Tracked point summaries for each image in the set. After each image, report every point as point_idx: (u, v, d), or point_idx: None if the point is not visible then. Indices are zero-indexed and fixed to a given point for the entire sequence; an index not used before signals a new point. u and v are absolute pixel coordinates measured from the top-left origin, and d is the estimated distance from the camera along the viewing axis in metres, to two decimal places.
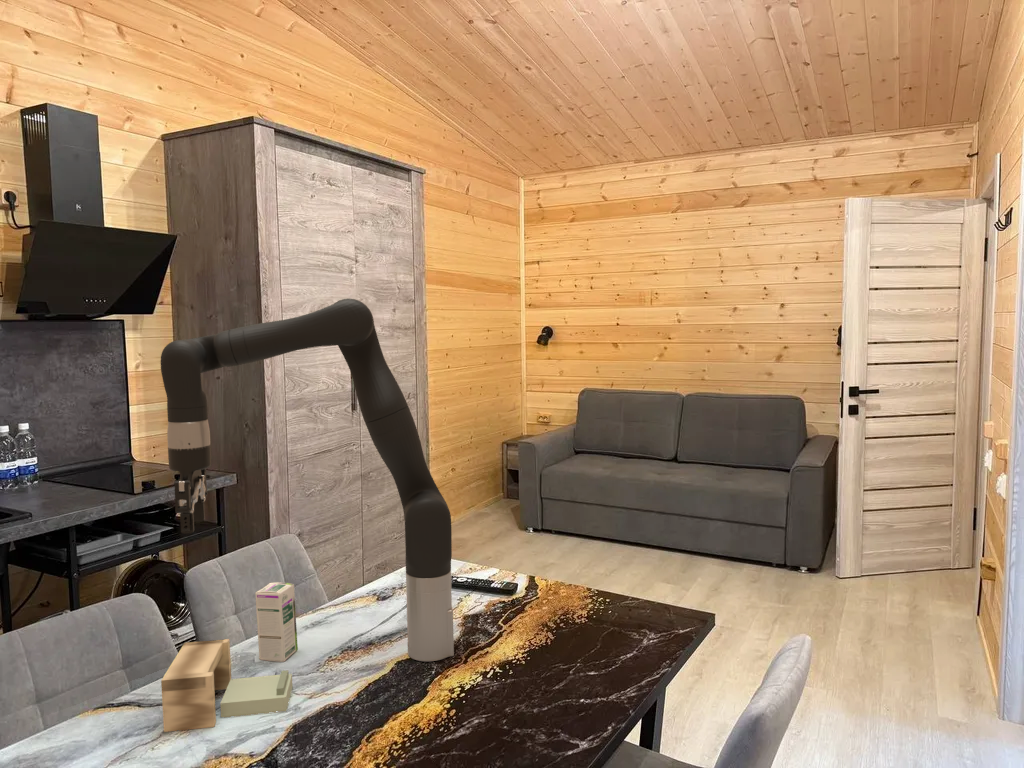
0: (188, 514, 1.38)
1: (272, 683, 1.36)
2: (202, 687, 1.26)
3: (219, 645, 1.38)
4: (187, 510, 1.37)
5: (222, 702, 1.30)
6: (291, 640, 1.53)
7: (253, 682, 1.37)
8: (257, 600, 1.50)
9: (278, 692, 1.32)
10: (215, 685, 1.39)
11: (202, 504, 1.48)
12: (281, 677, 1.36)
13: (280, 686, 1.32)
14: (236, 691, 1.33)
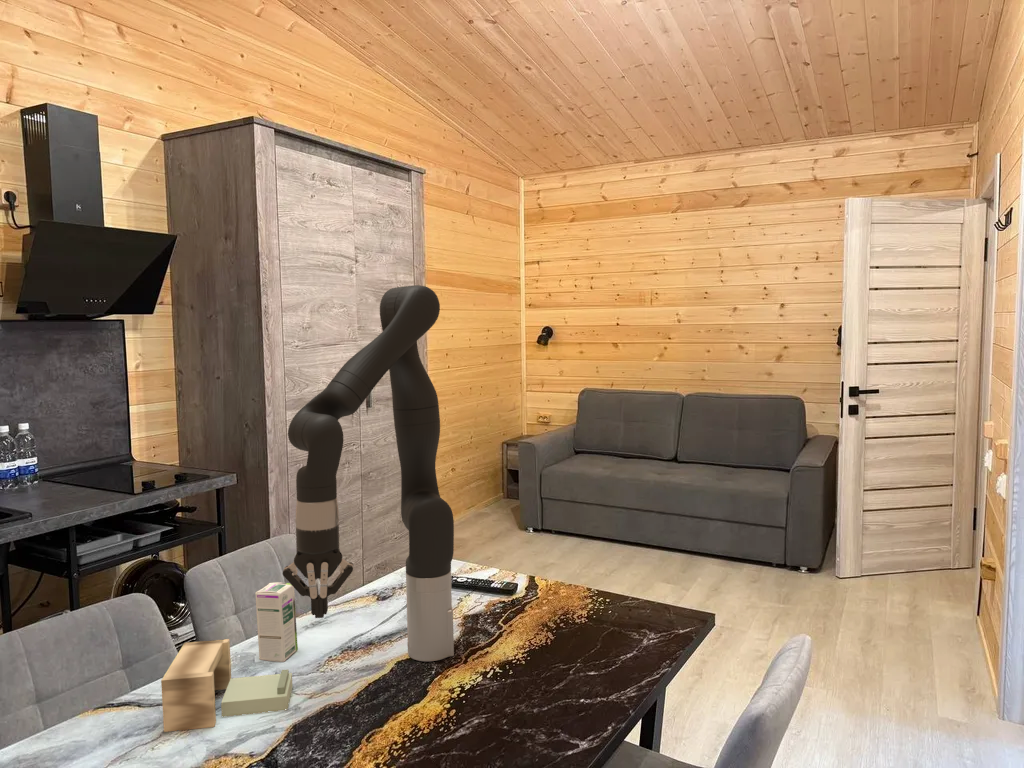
0: None
1: (272, 682, 1.37)
2: (202, 687, 1.26)
3: (219, 645, 1.38)
4: None
5: (223, 701, 1.30)
6: (291, 640, 1.53)
7: (253, 681, 1.37)
8: (257, 600, 1.50)
9: (279, 691, 1.32)
10: (215, 685, 1.39)
11: (319, 596, 1.36)
12: (281, 676, 1.36)
13: (280, 685, 1.33)
14: (236, 690, 1.34)
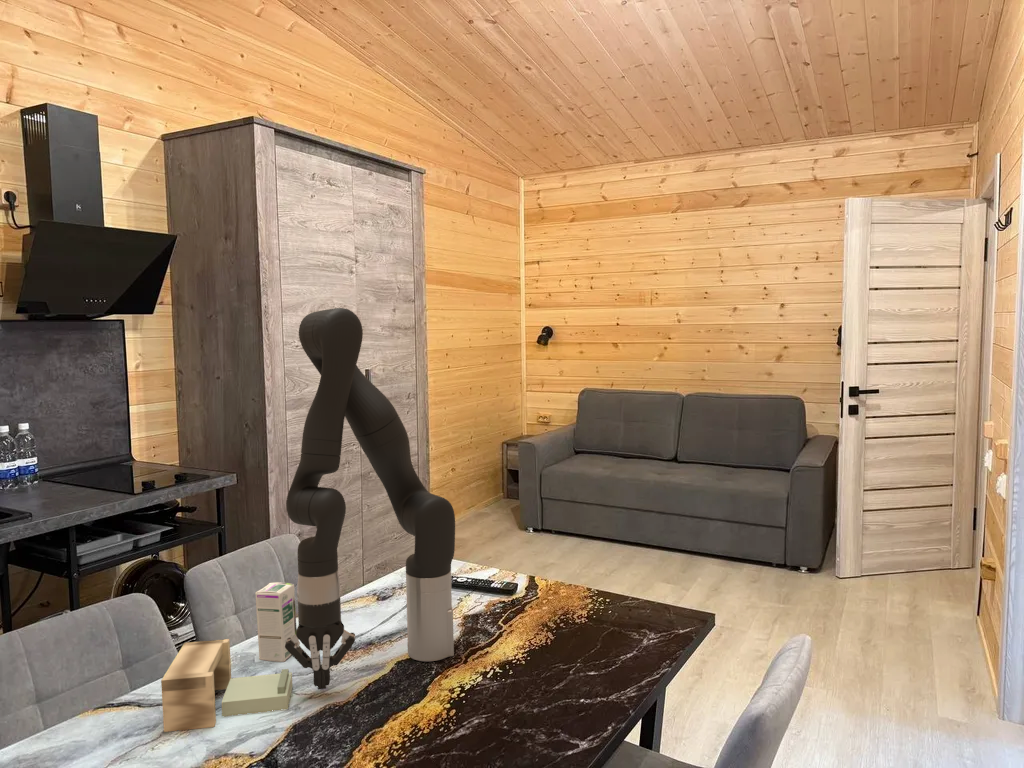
0: None
1: (272, 682, 1.37)
2: (202, 687, 1.26)
3: (219, 645, 1.38)
4: None
5: (223, 701, 1.30)
6: None
7: (253, 681, 1.37)
8: (257, 600, 1.50)
9: (279, 691, 1.32)
10: (215, 685, 1.39)
11: (321, 666, 1.37)
12: (281, 676, 1.36)
13: (281, 685, 1.33)
14: (236, 690, 1.34)
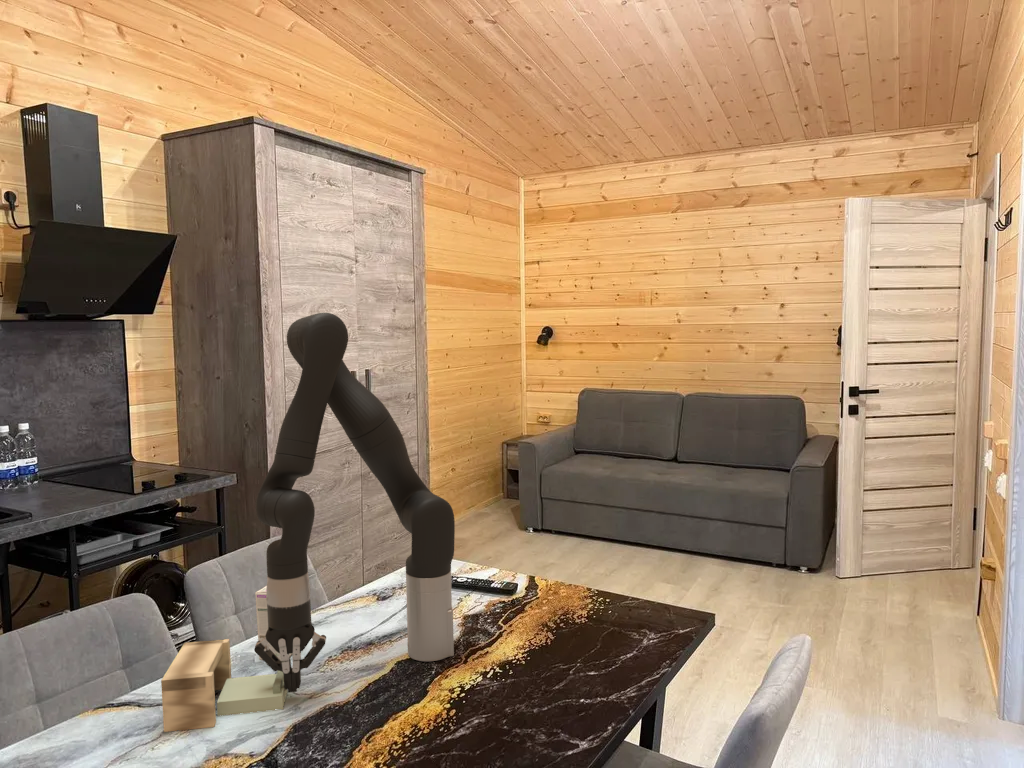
0: None
1: (268, 682, 1.37)
2: (202, 687, 1.26)
3: (219, 645, 1.38)
4: None
5: (219, 701, 1.30)
6: None
7: (249, 681, 1.37)
8: (257, 600, 1.50)
9: (274, 691, 1.32)
10: (215, 685, 1.39)
11: (292, 669, 1.36)
12: (277, 676, 1.37)
13: (276, 685, 1.33)
14: (232, 690, 1.34)
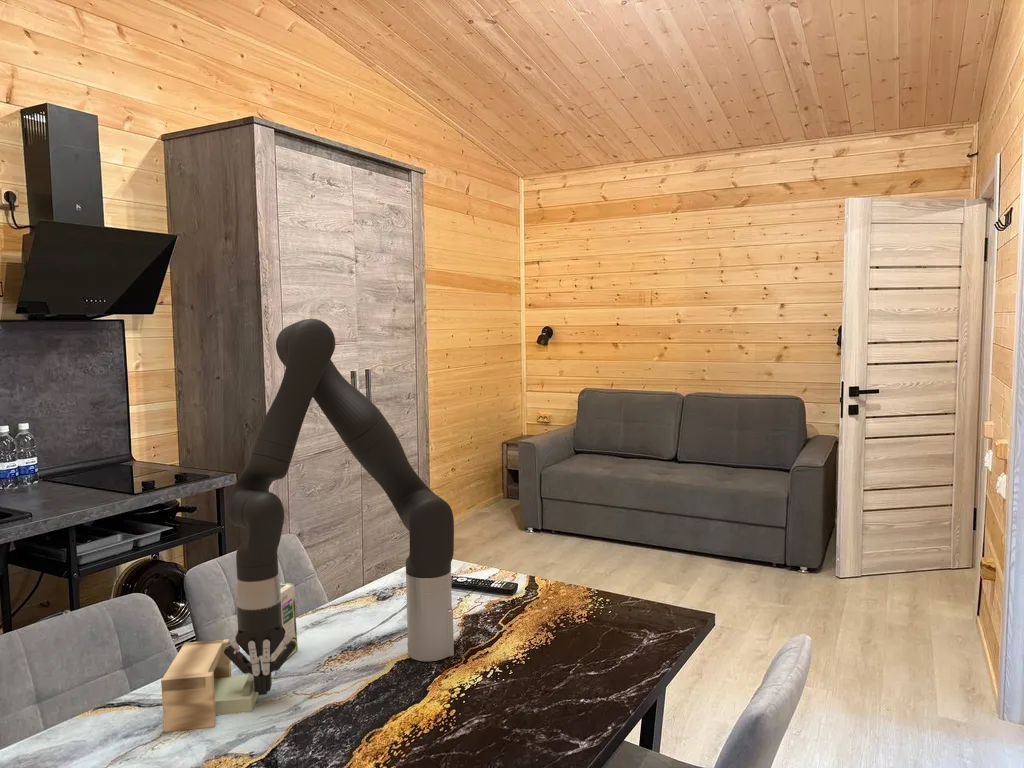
0: None
1: (240, 684, 1.36)
2: (202, 687, 1.26)
3: (219, 645, 1.38)
4: None
5: None
6: None
7: (221, 683, 1.37)
8: None
9: (244, 693, 1.32)
10: None
11: (262, 672, 1.35)
12: (249, 678, 1.36)
13: (246, 687, 1.32)
14: None
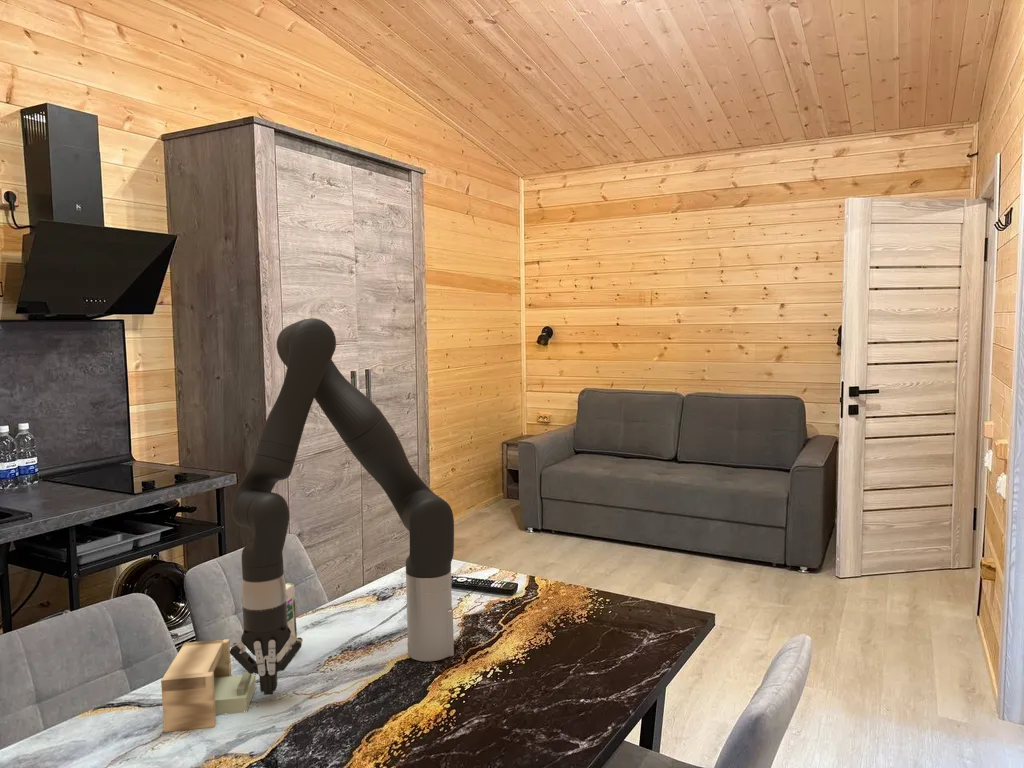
0: None
1: (234, 683, 1.36)
2: (202, 687, 1.26)
3: (219, 645, 1.38)
4: None
5: None
6: None
7: (215, 682, 1.37)
8: None
9: (238, 692, 1.32)
10: None
11: None
12: (243, 677, 1.36)
13: (240, 687, 1.32)
14: None
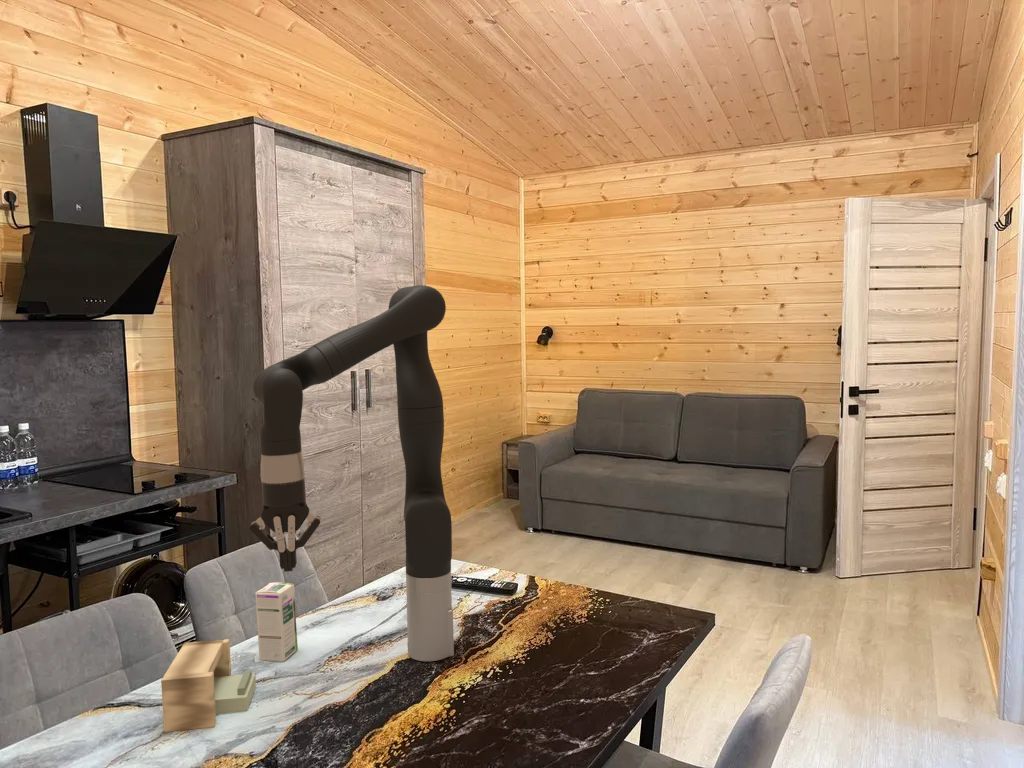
0: None
1: (234, 683, 1.36)
2: (202, 687, 1.26)
3: (219, 645, 1.38)
4: None
5: None
6: (291, 640, 1.53)
7: (216, 682, 1.37)
8: (257, 600, 1.50)
9: (239, 692, 1.32)
10: None
11: None
12: (243, 677, 1.36)
13: (241, 686, 1.33)
14: None
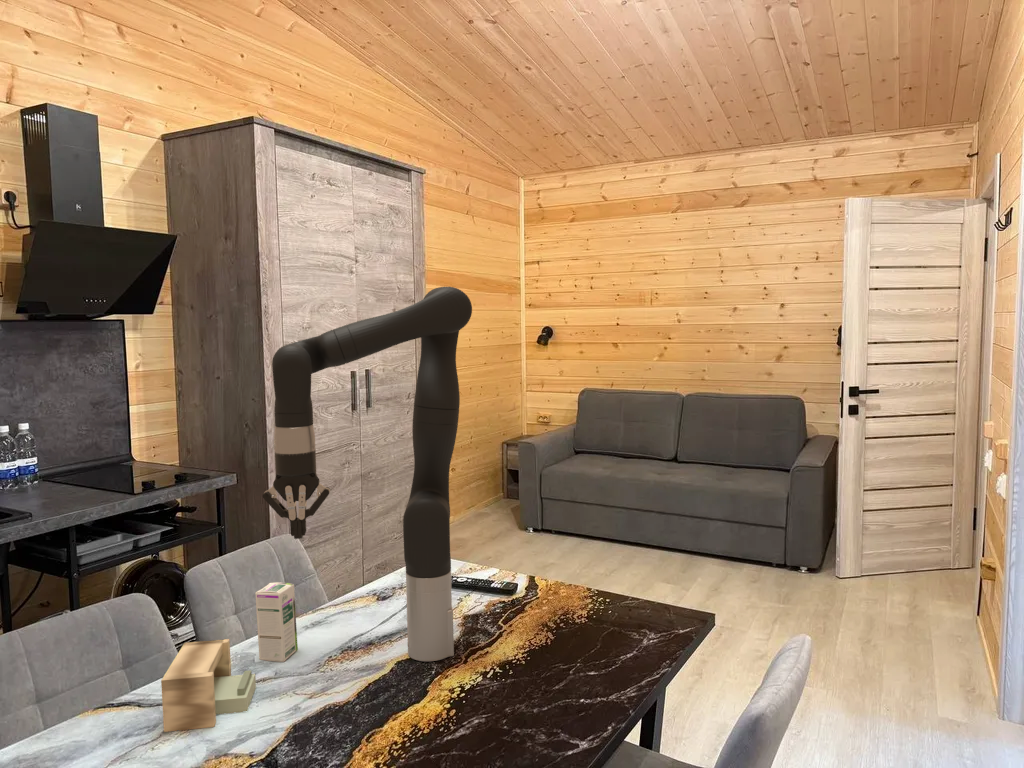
0: None
1: (234, 683, 1.36)
2: (202, 687, 1.26)
3: (219, 645, 1.38)
4: None
5: None
6: (291, 640, 1.53)
7: (215, 682, 1.37)
8: (257, 600, 1.50)
9: (239, 692, 1.32)
10: None
11: None
12: (243, 677, 1.36)
13: (241, 687, 1.33)
14: None
